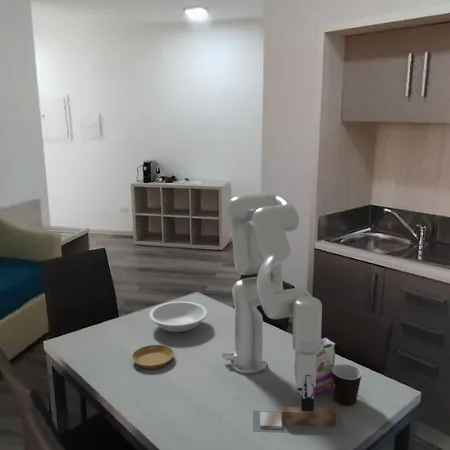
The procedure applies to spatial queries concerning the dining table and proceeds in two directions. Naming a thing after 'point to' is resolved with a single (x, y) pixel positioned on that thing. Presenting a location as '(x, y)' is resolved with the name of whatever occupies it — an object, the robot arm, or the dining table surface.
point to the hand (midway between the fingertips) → (305, 400)
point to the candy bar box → (324, 368)
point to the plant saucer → (153, 356)
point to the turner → (298, 417)
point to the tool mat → (299, 427)
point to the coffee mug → (346, 383)
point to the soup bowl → (178, 315)
